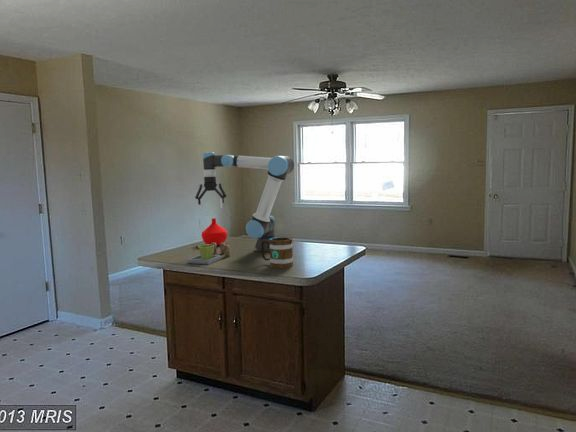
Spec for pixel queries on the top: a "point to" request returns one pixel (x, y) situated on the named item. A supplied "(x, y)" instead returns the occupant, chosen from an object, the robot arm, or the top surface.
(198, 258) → the tray
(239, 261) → the top surface
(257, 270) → the top surface
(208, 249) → the plant pot
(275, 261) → the mug
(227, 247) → the posts
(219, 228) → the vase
